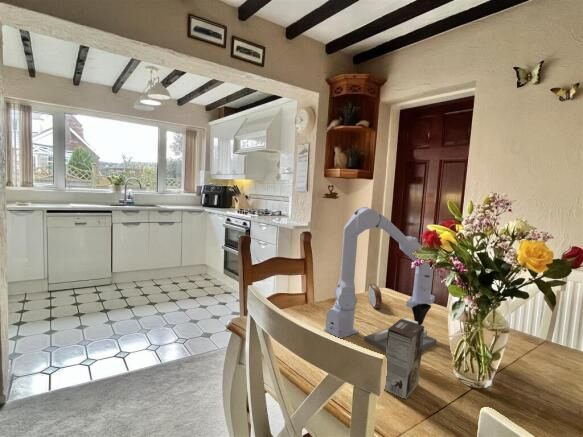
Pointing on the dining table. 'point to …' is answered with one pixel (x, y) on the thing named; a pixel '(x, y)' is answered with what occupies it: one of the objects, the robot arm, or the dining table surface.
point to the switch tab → (411, 320)
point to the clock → (375, 296)
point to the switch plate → (381, 337)
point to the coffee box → (403, 357)
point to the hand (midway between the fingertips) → (418, 323)
